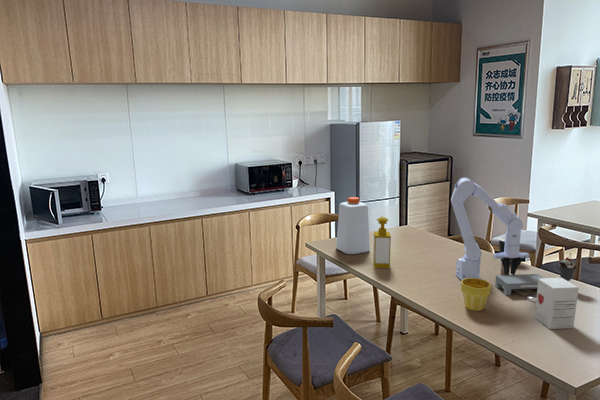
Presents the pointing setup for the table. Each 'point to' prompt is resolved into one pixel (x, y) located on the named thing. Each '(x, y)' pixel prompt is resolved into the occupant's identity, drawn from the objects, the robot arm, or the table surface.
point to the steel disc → (532, 297)
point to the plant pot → (475, 293)
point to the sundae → (567, 269)
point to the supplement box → (556, 303)
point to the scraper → (521, 291)
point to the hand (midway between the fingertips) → (509, 274)
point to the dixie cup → (502, 245)
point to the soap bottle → (382, 246)
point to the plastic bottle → (353, 227)
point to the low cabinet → (517, 282)
